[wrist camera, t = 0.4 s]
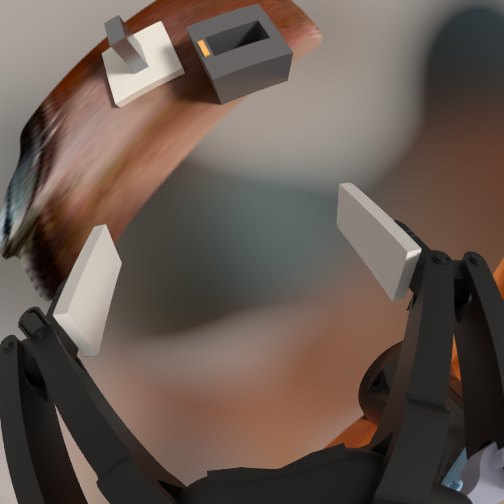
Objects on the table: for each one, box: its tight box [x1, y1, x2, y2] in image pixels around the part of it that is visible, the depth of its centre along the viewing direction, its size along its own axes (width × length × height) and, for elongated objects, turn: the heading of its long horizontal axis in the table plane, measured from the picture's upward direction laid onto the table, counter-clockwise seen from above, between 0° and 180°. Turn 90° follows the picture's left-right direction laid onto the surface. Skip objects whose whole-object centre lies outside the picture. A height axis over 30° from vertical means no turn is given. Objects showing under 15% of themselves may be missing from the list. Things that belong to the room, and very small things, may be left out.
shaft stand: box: [102, 15, 185, 108], centre depth 26 cm, size 11×10×10 cm
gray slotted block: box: [186, 4, 293, 105], centre depth 27 cm, size 9×9×7 cm
